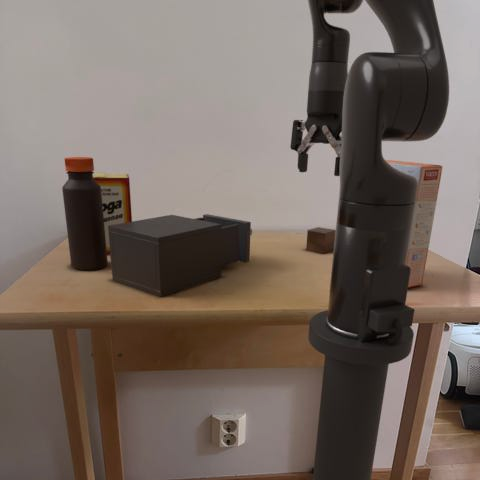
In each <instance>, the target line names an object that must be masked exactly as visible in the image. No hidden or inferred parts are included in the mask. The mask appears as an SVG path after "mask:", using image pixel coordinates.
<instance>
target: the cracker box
mask: <svg viewBox="0 0 480 480" xmlns="http://www.w3.org/2000/svg"><path fill="white" fill-rule="evenodd" d="M385 161H386V162H387V163H388V164H390V165H391V166H392V167H394V168H395V169H397V170H399V171H402V172H404V173H407V174H409V175H411V176H413V177H415V178H416V179H417V182H418V191H417V197H416V202H415V209H414V216H413V222H412V227H411V234H410V240H409V247H408V253H407V259H406V265H407V266H409V267H410V268H411V272H410V278H409V285H408V289H409V288H413V287H418V286H422V285H423V282H424V276H425V270H426V265H427V259H428V254H429V248H430V243H431V236H432V230H433V226H434V225H433V224H434V219H435V213H436V206H437V201H438V195H439V190H440V185H441V178H442V172H443V165H441V164H431V163H420V162H412V161H401V160H391V159H385Z"/></svg>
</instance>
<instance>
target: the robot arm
mask: <svg viewBox="0 0 480 480" xmlns="http://www.w3.org/2000/svg"><path fill="white" fill-rule="evenodd" d="M364 1H365V2H366V4H367V5H368V6H369V8H370V9H371V10H372V12H373V13H374V14H375V15H376V17H377V18H378V20H379V21H380V22H381V24H382V26H383V27H384V29H385V31H386V33H387V35H388V37H389V41H390V43H391V46H392V49H393V52H386V51H384V52H383V51H367V52H364V53H361V54H359V55H358V56H357V57H356V58H355V59H354V61H353V62H352V64H351V66H350V68H349V67H348V66H349V65H348V63H349V55H350V45H351V33H350V31H349V30H348V29H347V28H343V27H341V26H336V25H333V24H330V23H329V22H328V21H327V20H326V18H325V14H329V15H330V14H334V15H335V14H337V15H338V14H343V15H344V14H345V15H346V14H352V13H355V12H356V11H358V9H360V7H361V6H362V4H363V2H364ZM307 3H308V9H309V14H310V19H311V26H312V50H311V62H310V63H311V64H310V70H309V75H308V87H307V88H308V89H307V101H306V102H307V103H306V114H307V118H306V120H303V119H293V121H292V128H291V138H290V139H291V140H290V145H289V146H290V150H292V151H294V152H296V153H297V169H298V172H299V173H306V172H307V171H308V163H309V151H310V150H311V148H312V147H313V146H314V145H316V144H324V145H330V147H331V148H332V149H333V150H334V152H335V154H336V157H335V160H334V170H333V171H334V173H333V175H334V177H339V194H338V202H337V214H336V224H335V230H336V232H335V242H334V250H333V254H332V264H331V273H330V275H331V276H330V285H329V296H328V307H327V310H328V316H327V318H326V325H327V327H328V328H329V329H330V330H331V331H333V332H334V333H336V334H339V335H341V336H344V337H348V338H352V339H356V340H358V341H360V342H362V343H366V342H372V341H377V340H383V339H388V340H387V341H388V343H390V344H393V343H394V342H396V341H398V340H399V339H400V338H401V336H402V328H404V327H412V326H413V322H414V321H413V320H414V315H415V308H413V307H411V306H409V305H407V304H406V302H407V297H408V290H409V288H408V285H409V278H410V272H411V268H410V267H409V266H407V265H406V259H407V253H408V247H409V240H410V234H411V227H412V222H413V216H414V209H415V202H416V197H417V191H418V182H417V179H416V178H415V177H413V176H411V175H409V174H407V173H404V172H402V171H399V170H397V169H395V168H394V167H392V166H391V165H390V164H388V163H387V162H386V161H385V160H386V159H385V158H384V156H383V155H384V154H383V147H382V146H383V144H382V143H383V142H421V141H426V140H427V141H428V140H430V139H431V138H432V137H434V136H435V135H436V134H437V133H438V132H439V131H440V129H441V127H442V126H443V124H444V121H445V119H446V116H447V111H448V106H449V102H450V101H449V100H450V77H449V69H448V62H447V57H446V53H445V47H444V42H443V39H442V38H443V37H442V35H441V29H440V26H439V21H438V16H437V12H436V7H435V1H434V0H307ZM348 69H349V70H348ZM305 130H306V132H307V133H306V134H305V136H304V138H303V135H304V132H305Z"/></svg>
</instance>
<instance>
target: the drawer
mask: <svg viewBox="0 0 480 480" xmlns="http://www.w3.org/2000/svg"><path fill="white" fill-rule="evenodd" d="M195 219H197V220H202V221H207V222H212V223H217V224H221V268H223V267H226V266H229V265H232V264H236V263H239V262H241V263H244V264H246V263H250V261H251V260H250V259H251V258H250V257H251V236H252V234H253V229H252V227H251V226H252V222H251V221H247V220H243V219H236V218H230V217H225V216H220V215H214V214H209V213H205V214H202V217H196V218H195Z"/></svg>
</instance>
